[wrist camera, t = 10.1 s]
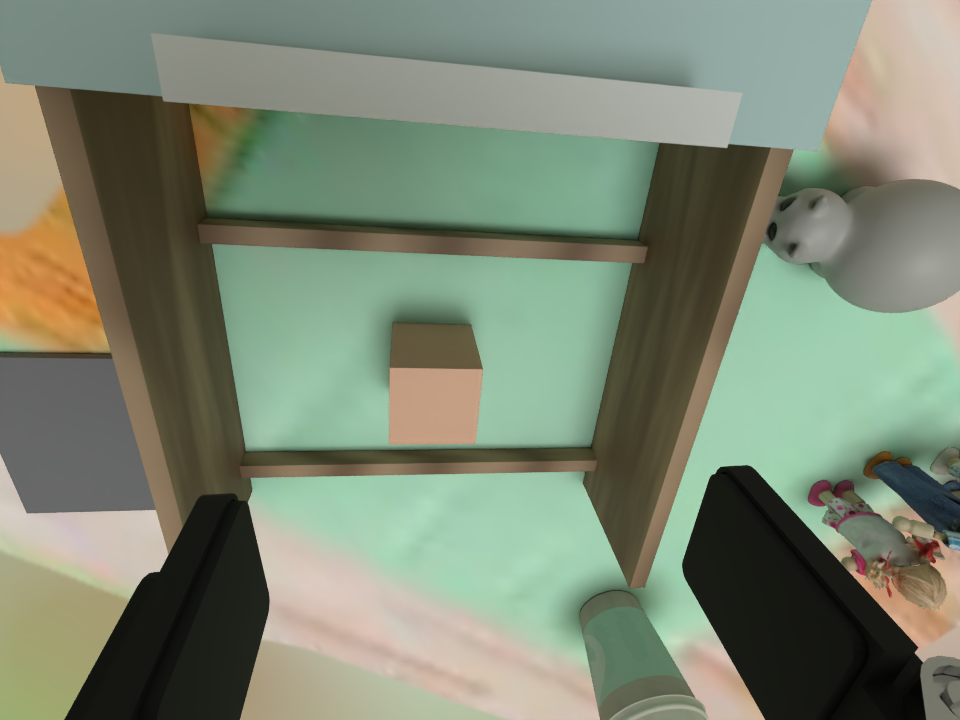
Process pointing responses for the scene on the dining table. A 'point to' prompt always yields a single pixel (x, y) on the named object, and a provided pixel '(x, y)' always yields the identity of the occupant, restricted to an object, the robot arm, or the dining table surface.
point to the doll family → (899, 526)
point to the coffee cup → (633, 664)
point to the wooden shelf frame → (194, 286)
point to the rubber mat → (69, 434)
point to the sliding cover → (464, 61)
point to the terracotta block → (434, 384)
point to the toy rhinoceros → (875, 241)
